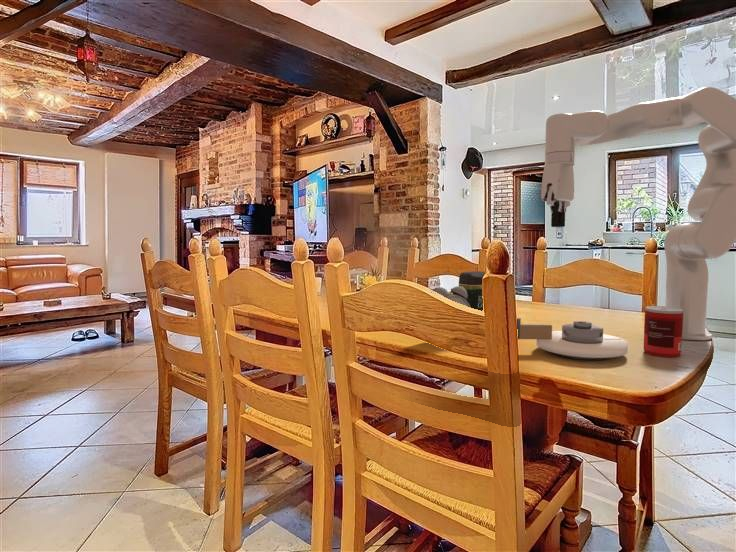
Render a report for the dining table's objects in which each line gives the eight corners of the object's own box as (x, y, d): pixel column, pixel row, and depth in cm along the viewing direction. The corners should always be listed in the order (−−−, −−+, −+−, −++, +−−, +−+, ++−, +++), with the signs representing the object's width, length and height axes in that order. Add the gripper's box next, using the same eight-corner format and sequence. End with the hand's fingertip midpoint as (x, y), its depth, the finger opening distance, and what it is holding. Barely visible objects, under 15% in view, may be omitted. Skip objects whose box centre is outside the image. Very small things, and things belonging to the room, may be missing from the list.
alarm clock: (434, 345, 119) (434, 288, 118) (423, 339, 126) (423, 286, 124) (472, 341, 123) (473, 286, 122) (459, 336, 129) (459, 284, 128)
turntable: (501, 337, 121) (502, 311, 120) (605, 338, 119) (605, 312, 118) (520, 356, 101) (520, 326, 101) (644, 358, 99) (646, 326, 98)
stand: (566, 343, 120) (566, 339, 119) (622, 353, 109) (623, 349, 109) (538, 351, 111) (538, 348, 111) (596, 363, 100) (596, 359, 100)
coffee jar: (471, 338, 126) (471, 272, 125) (453, 333, 133) (453, 271, 132) (497, 335, 131) (498, 271, 129) (478, 330, 138) (479, 269, 136)
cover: (556, 335, 114) (557, 318, 113) (593, 335, 113) (594, 318, 112) (569, 343, 105) (569, 325, 104) (609, 344, 104) (610, 325, 103)
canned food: (669, 349, 112) (671, 305, 111) (688, 358, 104) (691, 311, 103) (636, 349, 113) (638, 305, 112) (653, 357, 105) (655, 310, 104)
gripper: (560, 164, 133) (558, 227, 134) (532, 159, 124) (531, 227, 125) (585, 161, 127) (584, 226, 129) (558, 155, 118) (557, 226, 119)
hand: (557, 226), depth 127 cm, fingers closed
